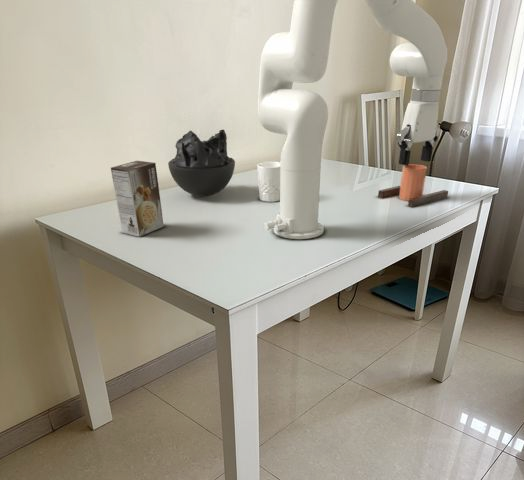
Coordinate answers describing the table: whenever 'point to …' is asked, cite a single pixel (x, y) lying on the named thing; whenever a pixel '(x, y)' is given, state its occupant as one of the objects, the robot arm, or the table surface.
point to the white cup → (269, 181)
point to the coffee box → (137, 197)
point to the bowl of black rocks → (202, 164)
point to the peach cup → (412, 181)
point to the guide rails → (416, 200)
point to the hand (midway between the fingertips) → (414, 162)
